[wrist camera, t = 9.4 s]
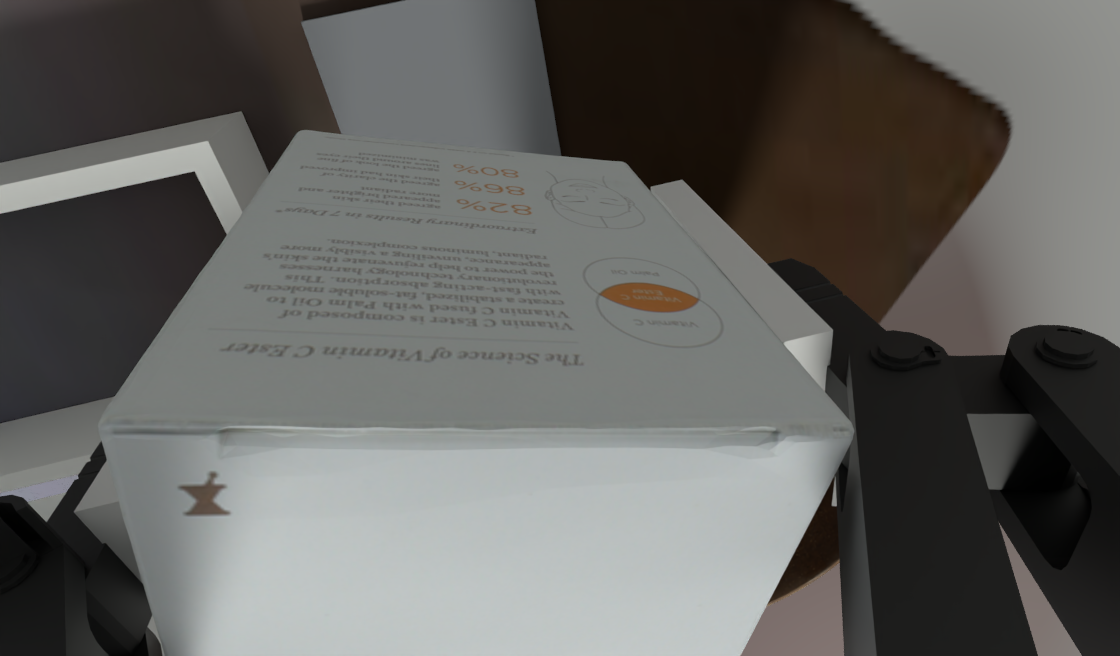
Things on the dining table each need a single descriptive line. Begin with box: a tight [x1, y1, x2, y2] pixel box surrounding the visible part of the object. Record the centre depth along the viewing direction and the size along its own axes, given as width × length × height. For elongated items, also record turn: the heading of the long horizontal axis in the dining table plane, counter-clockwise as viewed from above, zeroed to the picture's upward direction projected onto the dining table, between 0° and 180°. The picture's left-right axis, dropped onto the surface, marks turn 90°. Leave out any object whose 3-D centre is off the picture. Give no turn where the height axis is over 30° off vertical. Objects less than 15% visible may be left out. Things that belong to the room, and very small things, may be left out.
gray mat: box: [301, 0, 561, 156], centre depth 29 cm, size 10×10×1 cm
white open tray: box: [0, 111, 269, 493], centre depth 29 cm, size 22×14×5 cm, turn 99°
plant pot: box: [766, 475, 840, 607], centre depth 30 cm, size 15×15×16 cm
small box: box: [98, 130, 854, 656], centre depth 12 cm, size 8×6×10 cm
